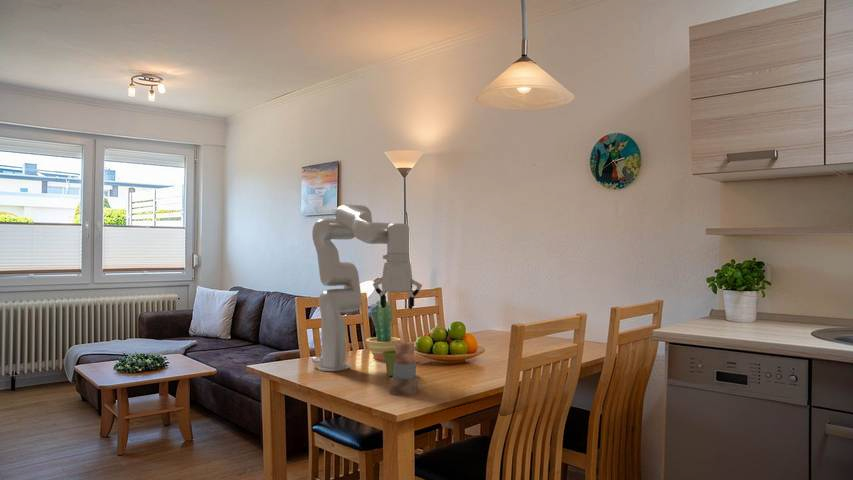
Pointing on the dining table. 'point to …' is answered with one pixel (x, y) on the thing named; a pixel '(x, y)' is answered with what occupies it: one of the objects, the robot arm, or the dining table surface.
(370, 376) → the dining table surface
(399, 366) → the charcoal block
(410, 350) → the brownish pink block
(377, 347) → the potted cactus
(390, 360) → the plant pot
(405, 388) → the walnut base block
